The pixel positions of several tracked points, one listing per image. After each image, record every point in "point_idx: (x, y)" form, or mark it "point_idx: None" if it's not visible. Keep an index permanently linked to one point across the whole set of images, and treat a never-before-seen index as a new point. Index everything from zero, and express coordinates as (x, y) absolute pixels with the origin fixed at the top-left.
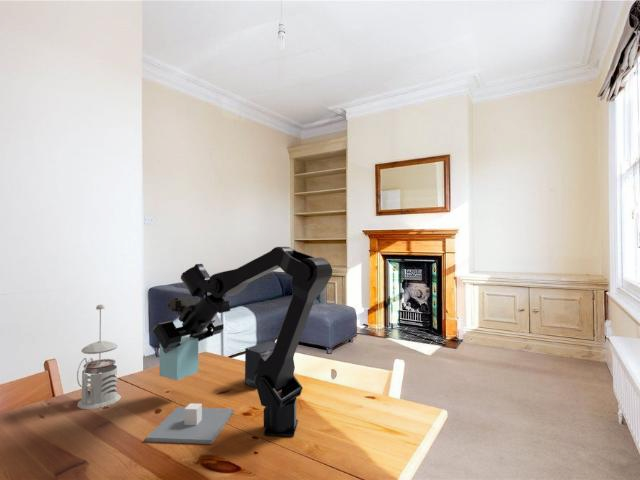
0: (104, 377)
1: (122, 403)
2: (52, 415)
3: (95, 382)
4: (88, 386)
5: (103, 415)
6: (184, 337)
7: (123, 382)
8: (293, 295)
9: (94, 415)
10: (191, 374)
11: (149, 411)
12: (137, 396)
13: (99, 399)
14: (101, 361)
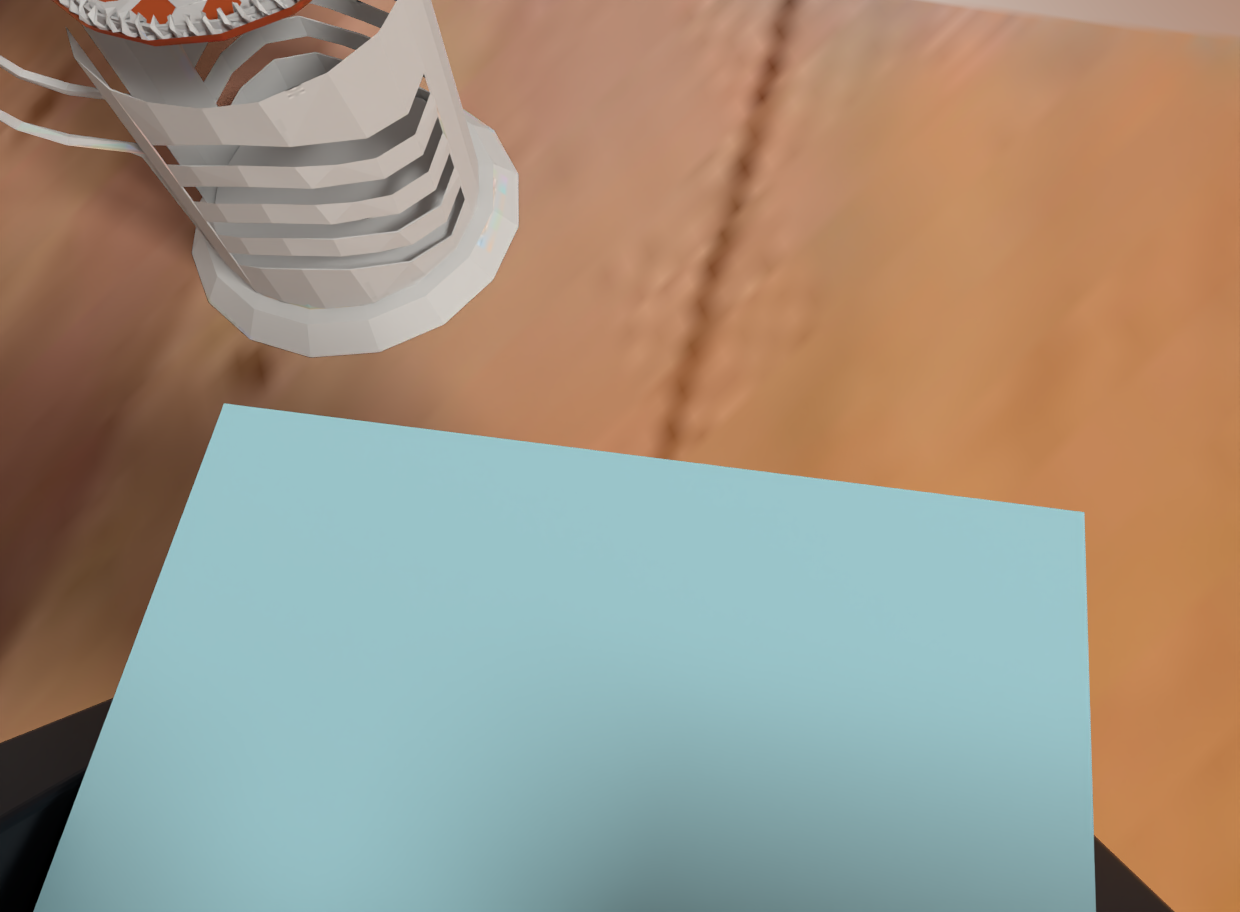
0: (162, 141)
1: None
2: (65, 145)
3: (129, 130)
4: (71, 138)
5: (109, 478)
6: (912, 882)
7: (740, 74)
8: None
9: (100, 410)
10: None
11: None
12: (526, 427)
13: (233, 266)
14: None
